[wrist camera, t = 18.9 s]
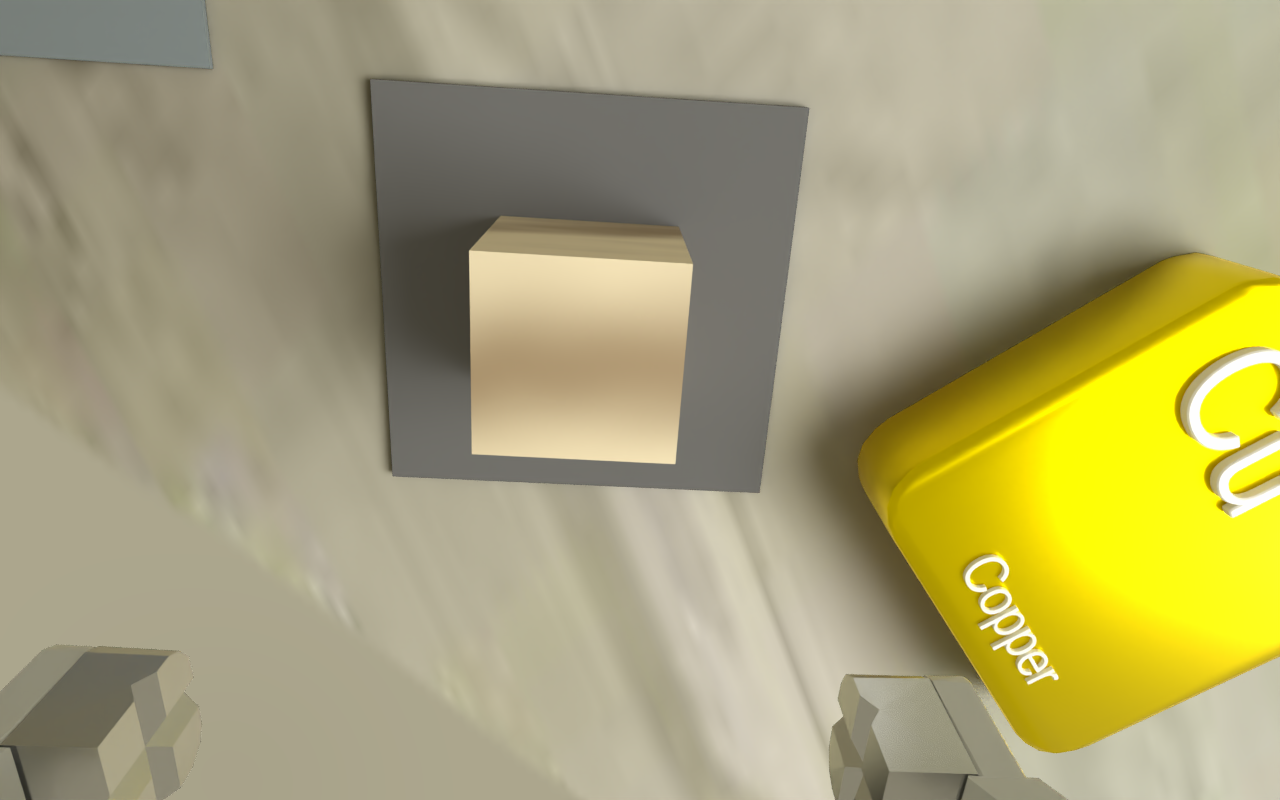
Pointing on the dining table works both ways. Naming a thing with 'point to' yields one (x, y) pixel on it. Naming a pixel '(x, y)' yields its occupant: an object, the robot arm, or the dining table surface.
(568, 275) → the light wood cube
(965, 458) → the element tile
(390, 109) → the pad
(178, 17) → the grey flat slab
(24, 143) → the dining table surface
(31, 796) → the robot arm
